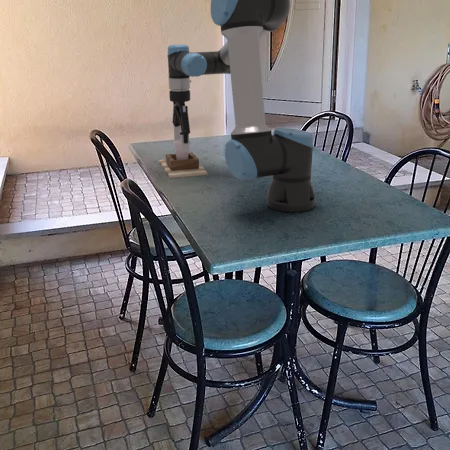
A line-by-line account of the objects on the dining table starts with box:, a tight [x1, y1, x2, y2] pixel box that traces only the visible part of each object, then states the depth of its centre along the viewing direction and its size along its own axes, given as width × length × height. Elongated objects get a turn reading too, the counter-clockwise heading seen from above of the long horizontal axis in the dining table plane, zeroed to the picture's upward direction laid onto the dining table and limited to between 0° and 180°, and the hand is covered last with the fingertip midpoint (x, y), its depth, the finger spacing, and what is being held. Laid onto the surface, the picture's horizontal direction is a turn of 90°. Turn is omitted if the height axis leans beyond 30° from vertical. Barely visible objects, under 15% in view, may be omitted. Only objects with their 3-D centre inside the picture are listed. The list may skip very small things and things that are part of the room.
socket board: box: [159, 152, 208, 179], centre depth 201 cm, size 22×14×4 cm, turn 16°
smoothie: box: [172, 131, 191, 160], centre depth 198 cm, size 6×6×14 cm
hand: (181, 147), depth 198 cm, fingers open, 13 cm apart
